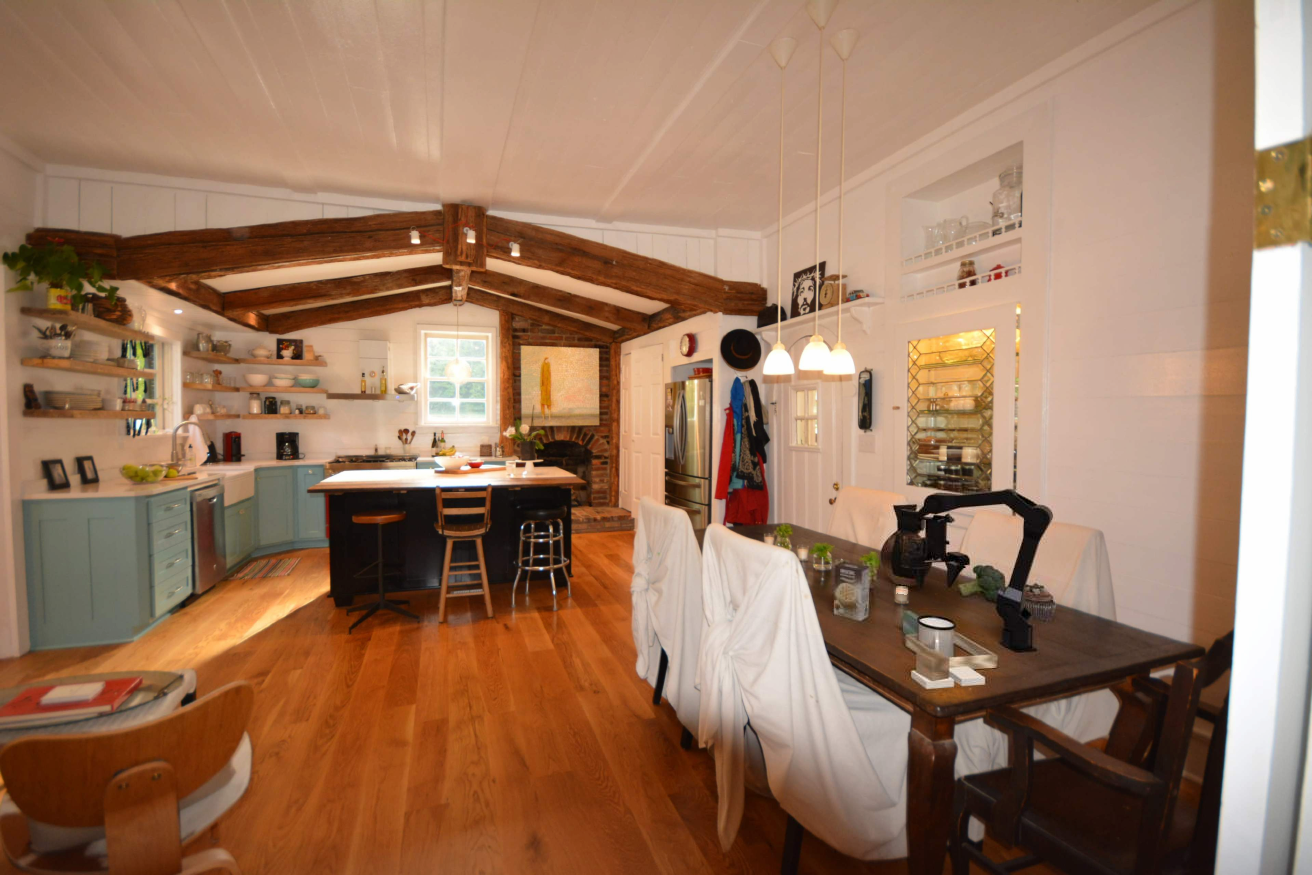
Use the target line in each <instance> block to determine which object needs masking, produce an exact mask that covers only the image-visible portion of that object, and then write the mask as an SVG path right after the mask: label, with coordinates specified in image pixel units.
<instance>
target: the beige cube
mask: <svg viewBox="0 0 1312 875" xmlns="http://www.w3.org/2000/svg"><path fill="white" fill-rule="evenodd" d="M915 654H916V656H915V657H916V658H915V659H916V661H915V664H916V665H915V670H916V673H918V674H920V675H922V676H923V677H925V678H927V679H929V680H930V681H938V680H943V679H948V678H949V657H948V656H946V655H944V654H942V653H940V652H938V651H936V650H934V649H931V650H925V651H919V652H916V653H915Z"/></svg>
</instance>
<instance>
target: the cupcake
mask: <svg viewBox="0 0 1312 875" xmlns="http://www.w3.org/2000/svg"><path fill="white" fill-rule="evenodd" d="M1053 599H1054V596H1053V595H1052V594H1051V593H1050V591H1049V590H1048V589H1046V588H1045V586H1044V585H1041V584H1040V585H1039V584H1038V583H1034V584H1028V583H1026V586H1025V604H1024V607H1025V608H1026V609H1027V610H1028V611H1029V612H1030V613H1031V614H1032V615H1033V618H1032V620H1033V619H1036V620H1035V621H1038V620H1045V621H1044V622H1049V621H1048V620H1051V621H1053V620H1054V616H1055V611H1056V607H1057V603H1056V602H1055V601H1054V600H1053ZM1052 619H1053V620H1052Z"/></svg>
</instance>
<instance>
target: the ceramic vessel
mask: <svg viewBox="0 0 1312 875" xmlns="http://www.w3.org/2000/svg"><path fill="white" fill-rule="evenodd" d="M892 507H893V511H894V514H895V517H896V520H897V521H898V518H899V515H900V510H902V509H907V510H911V511H917V509H918V504H916V503H913V504H898V505H897V504H893V505H892ZM897 521H896V522H897ZM910 540H916V541H917V543H921V542H922V536H921V535H919V534H917V533H909V532H902V531H898V528H897V529H896V531H895V532H893V533H892V534H891V535H890V536H888V538H887V539H886V540H885V541H884V543H883V545H882V547H881V550H880V562H881V565H882V567H883V569H884V571H885V573H886V574H887V576H888V577H889V578H890V580H891V581H892V582H893V583H895V584H897V585H899V584H903V585H907V586H906V587H915V586H918V585H917V582H916V579H915V576H914V574H913V572H912V570H911V569H910V568H909V567H907V566H906V565H905V564H903V563H901V557H902V555H903V554H912V553H914V551H909V550H908V541H910ZM917 555H919V556H921V557H923V556H925V555H921V554H917ZM930 560H933V559H930ZM932 566H933V563H925V565H924V566H923V568H925V574H924V579H926V577H927V576H928V574H929V573H930V571H931V569H932Z"/></svg>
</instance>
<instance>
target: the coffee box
mask: <svg viewBox="0 0 1312 875" xmlns="http://www.w3.org/2000/svg"><path fill="white" fill-rule="evenodd" d="M870 569H871V568H870V566H869V565H864V564H859V563H855V562H851V561H846V560H841V561H840V562H838V563H836V564H834V586H833V587H834V592H833V593H834V594H833V596H834V598H833V600H834V601H833V615H837V616H840V617H842V618H848V619H849V620H850V619H851V620H854V621H858V622H861V621H863V620H865V619H866V618H867V617H869V601H870V600H869V597H870V596H869V595H870V594H869V593H870Z"/></svg>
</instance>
